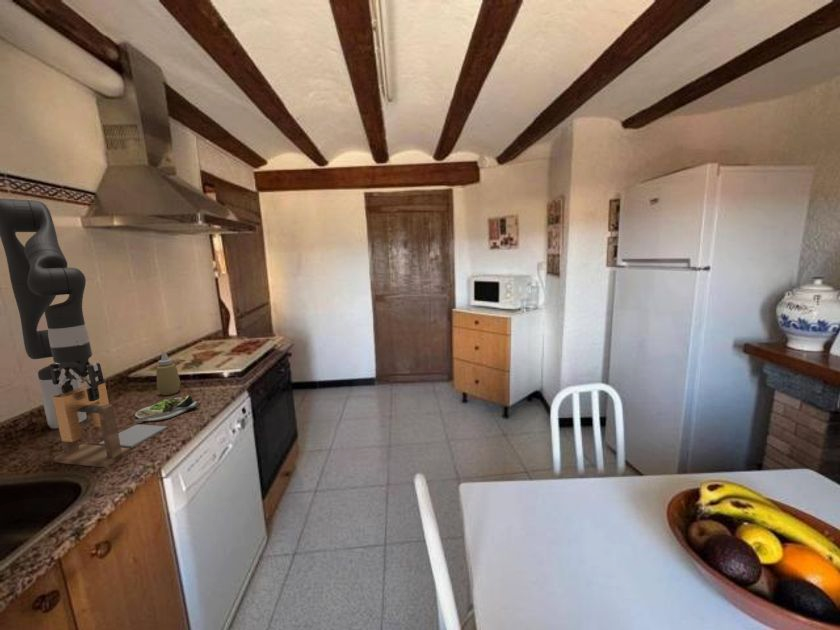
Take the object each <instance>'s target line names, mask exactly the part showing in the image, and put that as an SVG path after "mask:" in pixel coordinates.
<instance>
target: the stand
mask: <svg viewBox="0 0 840 630" xmlns="http://www.w3.org/2000/svg"><path fill="white" fill-rule="evenodd" d="M54 409H55V407H54ZM77 412H86V413H89V414H90V413H91V414H92V413H99V418H100V423H101V427H100V428H101V432H102V438H103V441H104V443H105V445H99V444H98V445H94V444H84V443H83V444H80V445H79V441H78V440H79V439H78V440H75V441H73V442H68V441H62V439H61V438H60V440H61V445H62V449H63V453H61V454H58V455H57V456H55V457H54V462H55V463H57V462H58V464H59V463H60V464H69V465H76V466H77V465H79V466H80V465H81V466H88V467H89V466H90V467H98V468H107V467H109V466H111V465H113V464H115V463H116V462H118V461H119V460H121V459H122V458H125V457H126V456H128V455H130V454H131V453H132V452H131V448H129V447H121V445H120V440H119V435H118V433H119V431H118V425H117V419H116V415H115V408H114V405H113V404H110V403H109V404H107V405H104V406H98V405H88V406H85V407H83V408H80V409H77ZM55 413H56V412H55ZM56 418H57V416H56ZM57 423H58V421H57ZM58 427H59V425H58ZM58 432H59V435H60V436H59V437H61V434H60V430H59V429H58ZM110 464H111V465H110Z"/></svg>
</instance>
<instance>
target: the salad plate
mask: <svg viewBox="0 0 840 630" xmlns="http://www.w3.org/2000/svg"><path fill="white" fill-rule="evenodd" d="M198 406H199V404H198V402H197V401H196V400H193V399H192V396H191V395H190V394H188V395H186V396H184V397H172V398H171V397H170V398H167V399H163V400H160V401H159V402H157V403H154V404H152V405H150V406H147V407H143V408H141V409H139V410H137V411H136V412H135V414H134V417H136V419H135V420H134V422H135V423H138V422H156V421H162V420H167V419H168V420H169V419H171V418H174V417H176V416H179V415H182V414H184V413H187V412H189V411H191V410H193V409H194V408H196V407H198Z"/></svg>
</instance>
